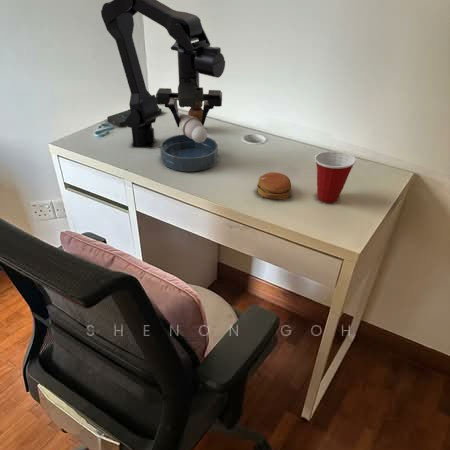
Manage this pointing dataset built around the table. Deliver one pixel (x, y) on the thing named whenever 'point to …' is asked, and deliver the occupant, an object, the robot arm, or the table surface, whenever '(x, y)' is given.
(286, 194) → the burger
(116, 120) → the smart home device
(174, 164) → the bowl
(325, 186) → the plastic cup
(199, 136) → the ice cream cone
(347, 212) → the table surface
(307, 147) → the table surface
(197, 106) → the wooden figurine
